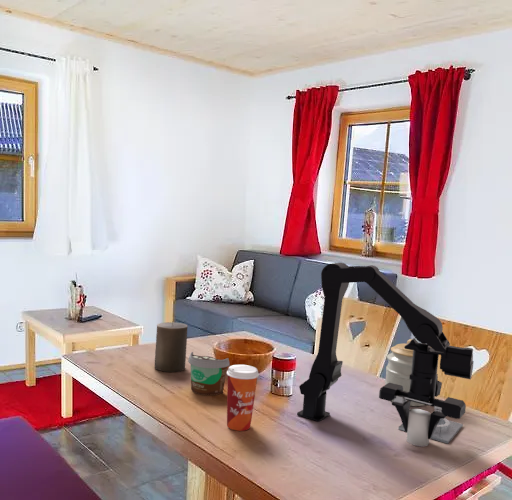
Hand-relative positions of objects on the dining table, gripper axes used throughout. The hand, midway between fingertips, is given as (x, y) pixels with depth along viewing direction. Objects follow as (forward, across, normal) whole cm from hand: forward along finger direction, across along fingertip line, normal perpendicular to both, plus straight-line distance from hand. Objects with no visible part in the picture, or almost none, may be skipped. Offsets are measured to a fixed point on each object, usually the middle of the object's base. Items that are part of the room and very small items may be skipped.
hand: (418, 435), depth 126 cm
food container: (+2, +57, +10) cm, 58 cm away
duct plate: (+2, 0, -11) cm, 11 cm away
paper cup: (+2, +36, +22) cm, 42 cm away
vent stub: (+2, 0, 0) cm, 2 cm away
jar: (+2, +12, -28) cm, 31 cm away
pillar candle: (+2, +79, 0) cm, 79 cm away
